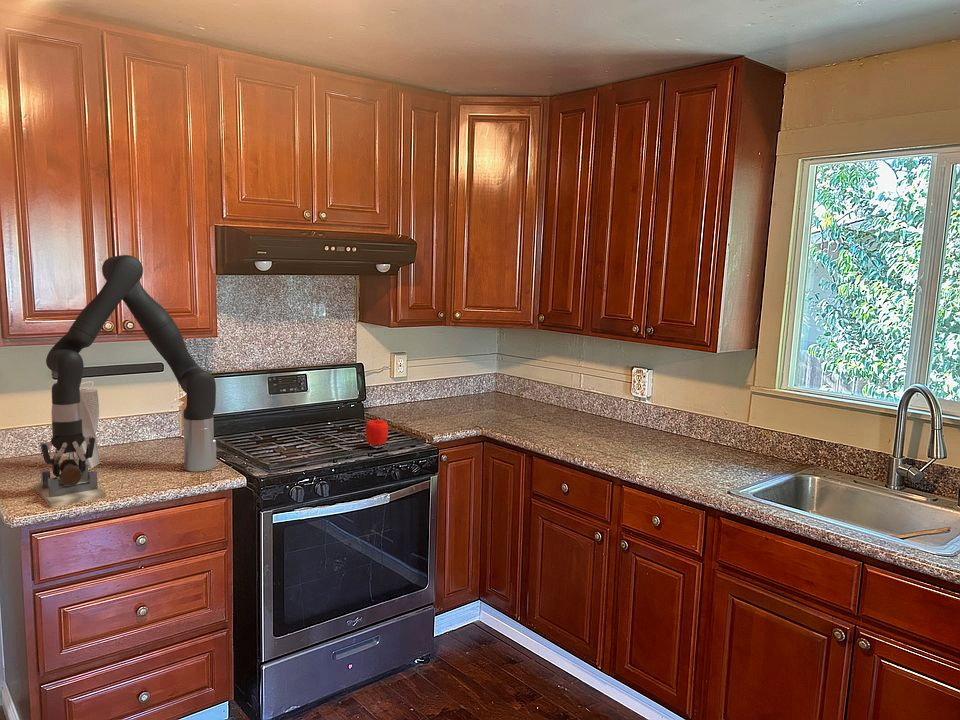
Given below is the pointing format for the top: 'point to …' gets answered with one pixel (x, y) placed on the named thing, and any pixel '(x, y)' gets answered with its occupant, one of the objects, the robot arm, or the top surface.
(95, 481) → the grey notched cradle
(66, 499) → the collar board
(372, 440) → the apple
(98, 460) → the skyscraper
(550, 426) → the top surface
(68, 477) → the bolt
